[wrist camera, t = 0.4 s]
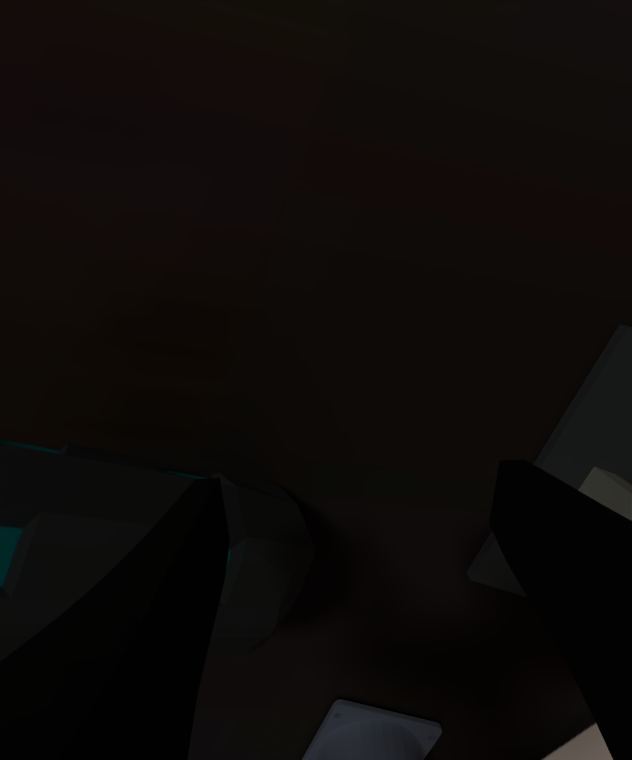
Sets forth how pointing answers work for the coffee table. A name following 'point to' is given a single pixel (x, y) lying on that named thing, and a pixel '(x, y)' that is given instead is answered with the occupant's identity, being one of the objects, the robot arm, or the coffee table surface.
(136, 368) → the coffee table surface
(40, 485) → the gun
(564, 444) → the mat
